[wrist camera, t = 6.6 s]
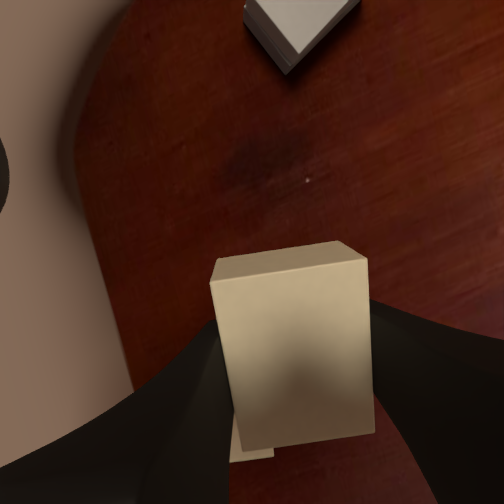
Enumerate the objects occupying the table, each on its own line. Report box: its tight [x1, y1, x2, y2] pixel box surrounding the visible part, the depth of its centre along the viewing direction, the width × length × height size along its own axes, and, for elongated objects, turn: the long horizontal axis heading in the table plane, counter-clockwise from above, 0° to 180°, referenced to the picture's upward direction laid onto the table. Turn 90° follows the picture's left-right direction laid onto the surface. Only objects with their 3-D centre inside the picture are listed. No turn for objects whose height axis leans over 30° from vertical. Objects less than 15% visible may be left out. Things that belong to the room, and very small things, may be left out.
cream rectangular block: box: [210, 241, 375, 452], centre depth 10 cm, size 6×4×2 cm
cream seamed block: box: [229, 412, 274, 463], centre depth 21 cm, size 6×4×3 cm
